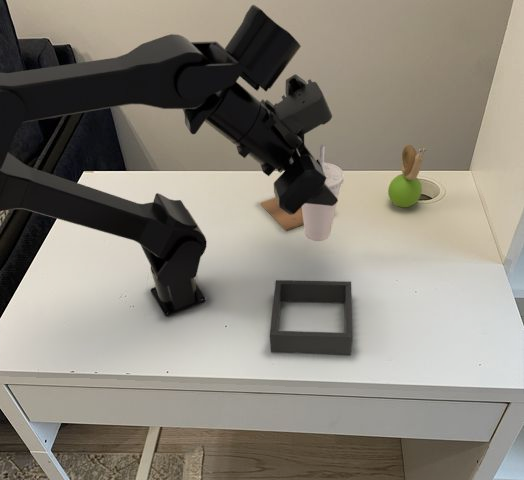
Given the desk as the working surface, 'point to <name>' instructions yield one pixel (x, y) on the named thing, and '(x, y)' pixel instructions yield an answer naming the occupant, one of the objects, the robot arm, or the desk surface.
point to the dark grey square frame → (311, 340)
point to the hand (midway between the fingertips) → (329, 189)
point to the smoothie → (322, 215)
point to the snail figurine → (407, 179)
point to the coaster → (283, 215)
